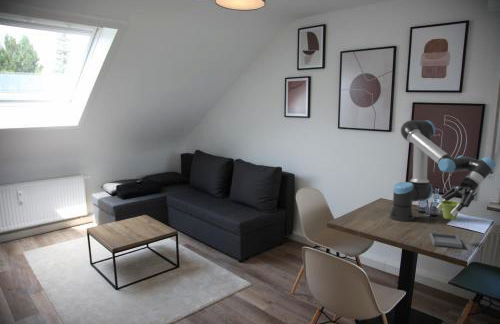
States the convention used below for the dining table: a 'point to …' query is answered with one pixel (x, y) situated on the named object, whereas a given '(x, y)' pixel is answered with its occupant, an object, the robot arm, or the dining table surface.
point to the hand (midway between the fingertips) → (445, 211)
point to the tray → (445, 240)
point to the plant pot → (449, 209)
